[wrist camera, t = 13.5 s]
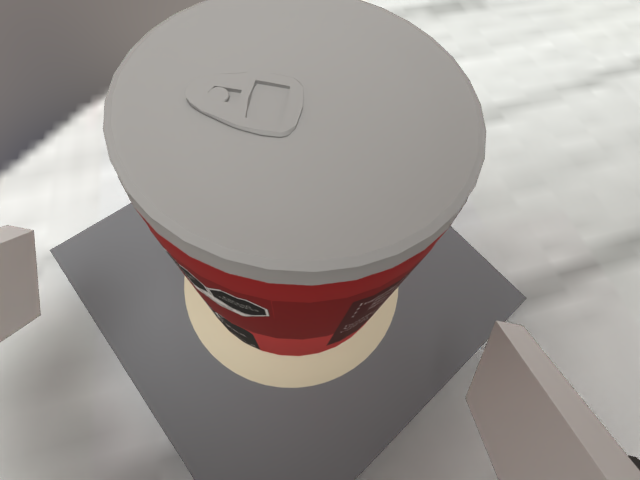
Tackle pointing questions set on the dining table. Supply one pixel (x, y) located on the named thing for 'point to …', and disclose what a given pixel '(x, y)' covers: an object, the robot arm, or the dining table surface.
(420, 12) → the dining table surface
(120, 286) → the mat
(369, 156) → the canned food
